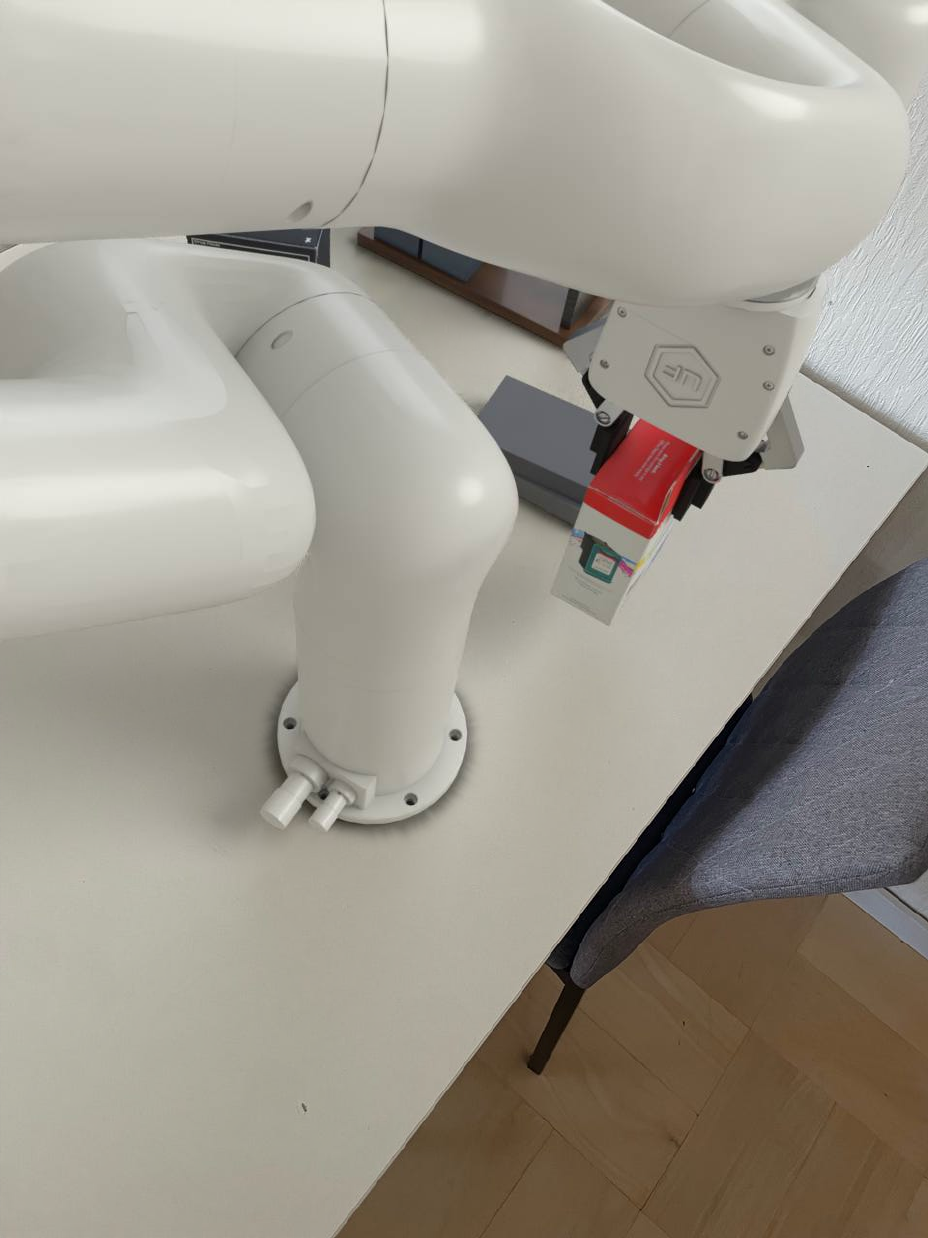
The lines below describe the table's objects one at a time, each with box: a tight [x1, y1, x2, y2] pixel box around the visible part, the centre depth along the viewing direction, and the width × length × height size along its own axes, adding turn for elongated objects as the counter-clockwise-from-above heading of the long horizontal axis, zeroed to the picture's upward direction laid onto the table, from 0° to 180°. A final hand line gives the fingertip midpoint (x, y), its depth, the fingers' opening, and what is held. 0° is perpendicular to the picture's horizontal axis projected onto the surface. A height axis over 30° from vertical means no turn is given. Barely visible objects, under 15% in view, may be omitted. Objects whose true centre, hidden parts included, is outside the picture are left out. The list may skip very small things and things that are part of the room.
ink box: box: [549, 418, 703, 627], centre depth 65 cm, size 8×5×15 cm, turn 148°
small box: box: [185, 228, 331, 268], centre depth 84 cm, size 11×6×10 cm, turn 84°
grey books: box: [477, 374, 632, 527], centre depth 82 cm, size 8×12×4 cm
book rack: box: [356, 226, 614, 348], centre depth 91 cm, size 10×23×11 cm, turn 59°
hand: (645, 481), depth 63 cm, fingers closed on ink box, 5 cm apart
